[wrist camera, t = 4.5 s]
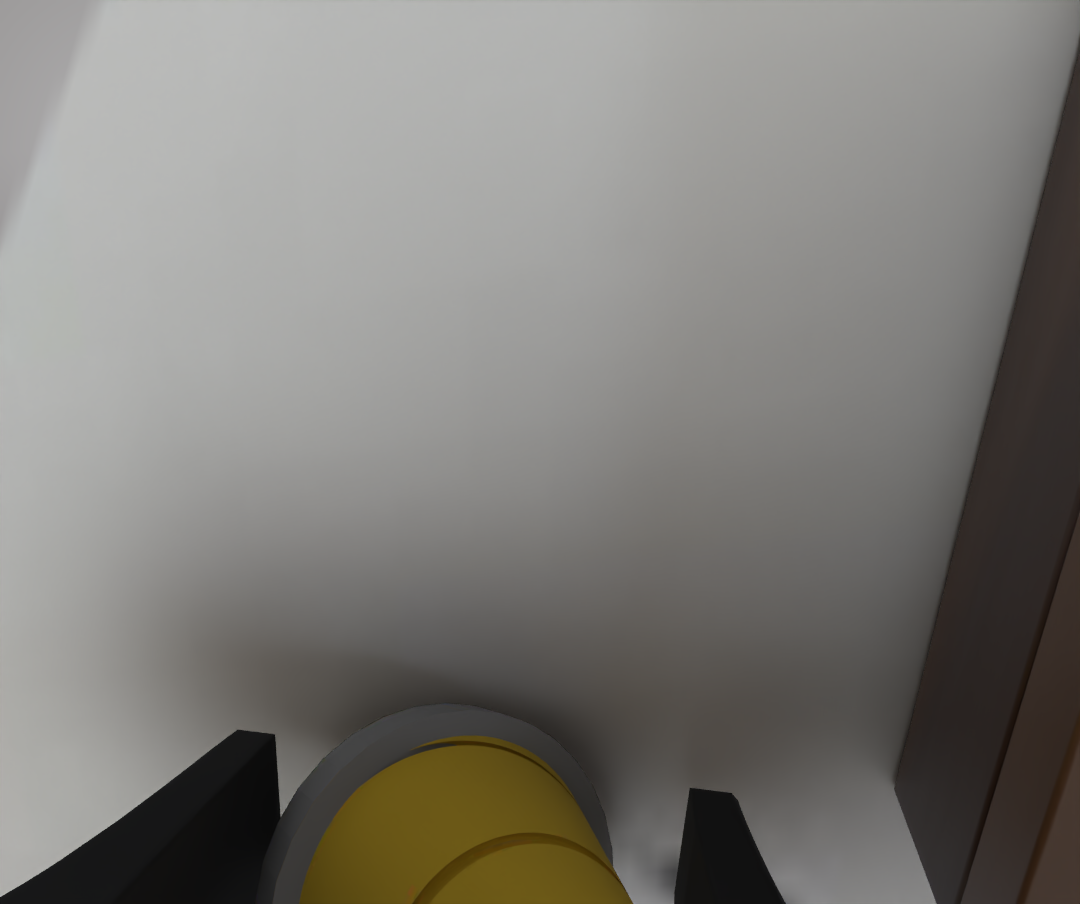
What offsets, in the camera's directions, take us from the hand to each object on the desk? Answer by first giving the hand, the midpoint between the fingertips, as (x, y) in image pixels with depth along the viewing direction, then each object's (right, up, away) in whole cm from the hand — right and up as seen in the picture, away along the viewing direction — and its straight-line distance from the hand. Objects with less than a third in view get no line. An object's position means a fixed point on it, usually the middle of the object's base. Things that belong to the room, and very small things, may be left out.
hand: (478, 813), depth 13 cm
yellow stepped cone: (0, +1, +2) cm, 2 cm away
